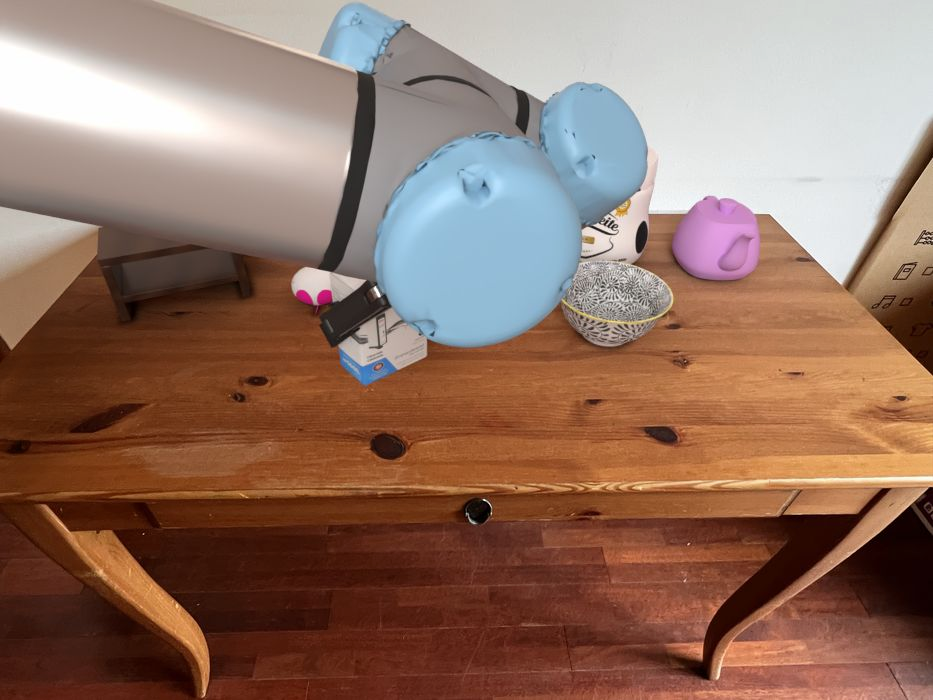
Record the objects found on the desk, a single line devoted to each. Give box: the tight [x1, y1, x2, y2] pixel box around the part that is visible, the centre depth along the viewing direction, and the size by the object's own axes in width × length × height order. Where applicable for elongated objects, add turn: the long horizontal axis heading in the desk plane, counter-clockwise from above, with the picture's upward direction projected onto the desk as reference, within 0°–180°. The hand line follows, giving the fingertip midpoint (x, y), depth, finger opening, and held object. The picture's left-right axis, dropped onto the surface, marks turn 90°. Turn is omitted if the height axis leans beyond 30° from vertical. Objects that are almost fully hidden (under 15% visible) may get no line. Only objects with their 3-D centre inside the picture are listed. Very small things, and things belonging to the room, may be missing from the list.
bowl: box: [559, 261, 675, 348], centre depth 85 cm, size 16×16×8 cm
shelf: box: [96, 226, 252, 323], centre depth 90 cm, size 18×10×10 cm, turn 114°
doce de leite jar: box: [580, 145, 659, 265], centre depth 100 cm, size 17×17×18 cm
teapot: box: [671, 195, 761, 281], centre depth 98 cm, size 20×13×12 cm, turn 0°
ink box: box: [329, 272, 428, 387], centre depth 63 cm, size 9×5×12 cm, turn 130°
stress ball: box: [290, 266, 333, 315], centre depth 90 cm, size 8×8×7 cm
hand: (364, 317), depth 66 cm, fingers closed on ink box, 9 cm apart
